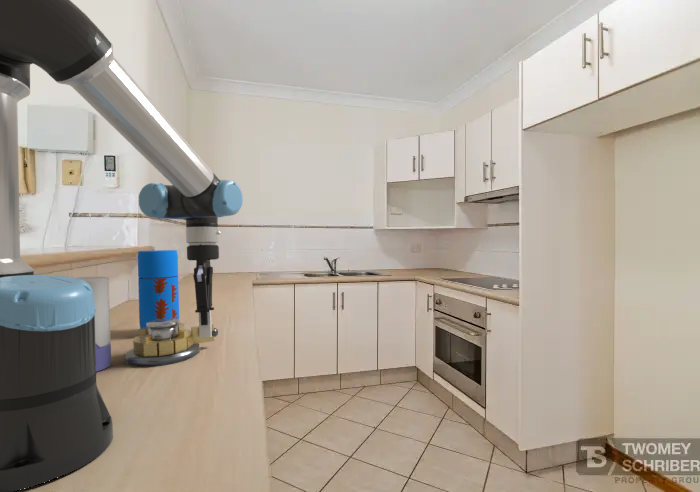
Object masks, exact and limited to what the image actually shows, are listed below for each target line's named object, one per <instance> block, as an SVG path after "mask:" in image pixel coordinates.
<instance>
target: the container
mask: <svg viewBox="0 0 700 492" xmlns="http://www.w3.org/2000/svg"><path fill="white" fill-rule="evenodd" d="M77 278H78V279H81V280H84V281H86V282H87V283H88V284H89V285H90V286H91V288H92V290H93V296H94V302H95V306H96V312H95V349H96V373H97V372H100V371H103V370H105V369H107V368H109V367H110V366H111V365H112V346H111V345H112V344H111V341H112V340H111V339H112V338H111V313H110V307H111V306H110V281H109V280H110V279H109V277H107V276H83V277H82V276H81V277H77Z"/></svg>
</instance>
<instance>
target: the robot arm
mask: <svg viewBox="0 0 700 492" xmlns="http://www.w3.org/2000/svg"><path fill="white" fill-rule="evenodd" d="M32 64H33V65H35V66H37V67H38V68H40V69H42V70H43V71H44V72H46V73H47V75H49V76H50V78H52V79H53V80H54V81H55V82H56V83H58V84H60V85H66V86H70V87H72V88H73V90H74V91H76V92H77V93H78V94H79V95H80V97H82V98H83V99H84V100H85V101H86V102H87V103H88V104H89V105H90V106H91V107H92V108H93V109H94V110H96V112H97V113H98V114H99V115H100V116H101V117H103V118H104V120H105V121H106V122H107V123H109V125H110V126H112V127H113V129H115V130H116V131H117V132H118V133H119V134H120V135H121V136H122V137H123V138H124V139H125V140H126V141H127V142H128V143H129V144H130V145H131V146H132V147H133V148H134V149H135V150H136V151H137V152H139V154H140V155H142V156H143V157H144V159H146V160H147V162H149V164H151V165H152V166H153V167H154V168H155V170H157V171H158V172H159V173H160V174H161V175H162V176H163V177H164V178H165V179H166V180H167V181H168V182H169V183H170V184H171V185H170V184H164V183H154V182H150V183H147V184H145V185H144V186H143V187H142V188H141V190H140V192H139V194H138V207H139V209H140V211H141V212H142V214H144V215H145V216H146V217H149V218H155V219H158V220H160V219H161V220H163V219H165V220H166V219H168V220H183V221H185V231H186V232H185V237H186V239H185V240H186V241H185V243H187V244H188V245H187V246H186V259H187V260H188V261H196V263H195V267H193V281H194V290H195V301H196V302H195V303H196V309H195V310H194V312H195V314H197V313H198V326H199V338H208V337H211V336H212V332H211V324H212V311H215V307H213V274H214V267H213V266H212V265H211V260H214V261H215V260H218V259H219V258H220V247H219V246H218V244H217V243H219V235H221V234H222V232H221V231H220V230H219V225H218V220H219V219H218V218H223V217H230V216H234V215H236V214H238V213H239V212H240V210H241V209H242V207H243V201H244V199H243V193H242V190H241V187H240V186H239V185H238V184H237V182H234V181H232V180H231V179H230V180H227V179H221V180H220V178H218V176H217V175H216V174H215V173H214V172H213V170H212V169H211V168H210V166H208V165H207V163H206V162H205V161H204V160H203V159H202V157H200V155H199V154H198V153H197V152H196V151H195V150H194V148H193V147H192V146H191V145H190V144H189V142H187V140H186V139H185V138H184V137H183V136H182V134H181V133H180V132H179V131H178V130H177V129H176V128H175V126H174V125H173V124H172V122H170V120H169V119H168V117H166V115H164V113H163V112H162V111H161V110H160V109H159V107H158V106H156V104H155V103H154V102H153V101H152V99H151V98H150V97H149V96H148V95H147V94H146V92H145V91H144V90H143V89H142V88H141V87H140V86H139V85H138V83H137V82H136V81H135V79H134V78H133V77H132V76H131V75H130V74H129V73H128V72H127V70H126V69H125V68H124V66H123V65H121V63H120V62H119V61H118V60H117V59H116V57H114V45H113V43H112V42H110V40H109V39H108V37H107V36H106V35H105V34H104V33H103V31H101V29H99V27H98V26H97V25H96V24H95V23H94V22H93V21H92V20H91V19H90V17H88V15H87V14H86V13H85V12H84V11H82V10H81V8H79V6H78V5H76V4H75V3H74V2H73V1H71V0H0V492H14V491H15V492H18V491H17V490H19V491H23V490H25V489H24V488H27V489H29V488H28V487H31V488H34V487H36V486H35V485H38V484H41V483H44V482H47V481H49V480H52V479H54V478H57V477H60V476H62V475H64V476H66V475H68V473H69V474H71V473H73V472H75V471H77V470H78V469H81V468H82V467H84V466H86V465H87V464H89V463H91V462H92V461H93V460H95V459H97V457H99V456H100V455H101V454H103V453H104V452H105V451H106V450H107V449H108V448H109V446H110V445H111V443H112V442H113V438H114V428H113V427H114V426H113V425H114V422H113V419H112V416H111V414H110V412H109V410H108V407H107V406H106V403H105V401H104V399H103V397H102V395H101V393H100V390H99V388H98V385H97V384H98V383H97V372H96V349H95V312H96V306H95V302H94V296H93V290H92V288H91V286H90V285H89V284H88V283H87V282H86V281H84V280H81V279H78V278H79V277H74V276H66V275H48V274H34V273H35V272H34V271H35V270H34V267H32V266H31V265H29V264H27V262H24V260H22V258H21V246H20V245H21V244H20V243H21V236H20V233H21V232H20V187H19V185H20V180H19V178H20V177H19V176H20V175H19V133H18V132H19V129H18V127H19V125H18V123H19V122H18V121H19V119H18V103H19V102H20V101H21V100H23V99H25V98H27V97H29V96H30V95H31V65H32ZM76 469H77V470H76ZM74 470H75V471H74ZM72 471H73V472H72ZM70 472H71V473H70ZM65 474H66V475H65ZM62 477H63V476H62ZM60 478H61V477H60ZM57 479H58V478H57ZM52 481H53V480H52ZM49 482H50V481H49ZM47 483H48V482H47ZM44 484H45V483H44ZM41 485H42V484H41ZM33 486H34V487H33ZM38 486H39V485H38ZM20 489H21V490H20ZM22 489H23V490H22Z"/></svg>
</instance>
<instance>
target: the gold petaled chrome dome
mask: <svg viewBox="0 0 700 492" xmlns="http://www.w3.org/2000/svg"><path fill="white" fill-rule="evenodd" d="M211 332H212V336H211V337H208V338H199V325H197V326H191V327H190V329H186V328H185V323H183V322H182V323H179V324H178V337H177V338H174V339H169V340H162V341H152V335H149V331H148V328H141V329H140V328H139V329H138V335H137V336H134V337H133V338H132V345H133V347H132V349H133V352H134V355H138V356H144V357H147V356H158V355H159V356H162V355H168V354H174V353H178V352H181V351H184V350H187V349H189V348H190V347H191V346H193V344H198V343H199V344H202V343H210V342H214V341H215V338H216V337H217V336H218V334H219V329H217V327H215V326H214V324H213V323H211Z"/></svg>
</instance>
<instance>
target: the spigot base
mask: <svg viewBox="0 0 700 492" xmlns="http://www.w3.org/2000/svg"><path fill="white" fill-rule="evenodd" d="M179 323H180V318H179V319H177V318H164V319H157V320H152V321H149V322H147V323H146V327H147V328H148V331H149V335H152V341H162V340H169V339H174V338H177V337H178V324H179ZM198 354H200V343H198V344H193V346H191V347H190V348H189V349H187V350H184V351H181V352H178V353H174V354H168V355H162V356H159V355H158V356H147V357H144V356H138V355H134V352H133V348H131V349H129V350H128V351H126V353H125V364H127V365H129V366H133V367H138V368H139V367H142V368H143V367H144V368H145V367H147V368H149V367H150V368H151V367H152V368H153V367H161V366H167V365H172V364H177V363H181V362H184V361H186V360H189V359H192V358H193V357H196V356H197V355H198Z"/></svg>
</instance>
